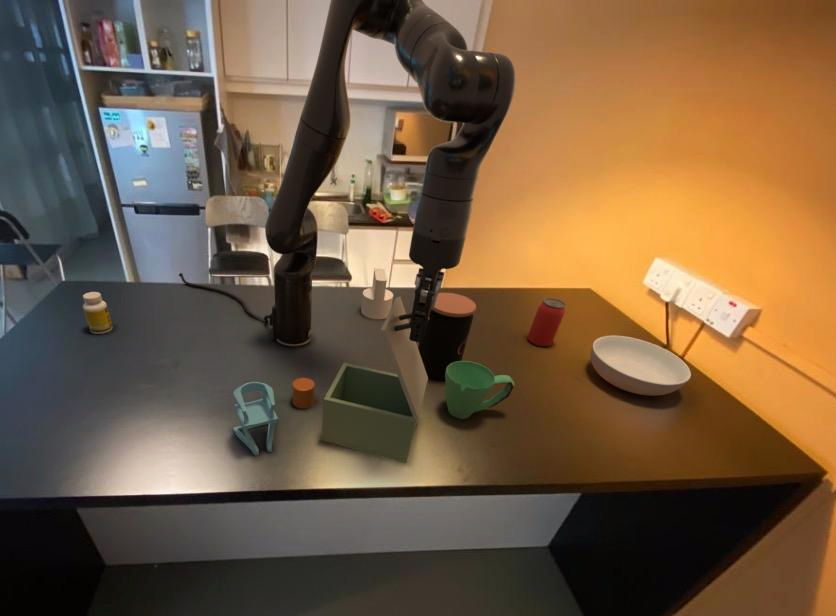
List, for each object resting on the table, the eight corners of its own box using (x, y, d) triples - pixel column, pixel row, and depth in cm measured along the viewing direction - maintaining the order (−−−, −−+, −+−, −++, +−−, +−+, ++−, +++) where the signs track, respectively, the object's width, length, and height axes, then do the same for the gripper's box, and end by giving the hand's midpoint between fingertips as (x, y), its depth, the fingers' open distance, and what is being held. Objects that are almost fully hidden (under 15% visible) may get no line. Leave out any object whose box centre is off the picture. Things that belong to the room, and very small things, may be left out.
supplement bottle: (115, 331, 111) (105, 297, 105) (92, 336, 109) (81, 301, 103) (111, 322, 115) (101, 289, 109) (88, 327, 112) (77, 293, 106)
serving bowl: (586, 393, 100) (598, 369, 96) (578, 350, 116) (588, 328, 112) (686, 417, 95) (704, 392, 91) (663, 368, 111) (677, 346, 107)
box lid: (380, 330, 65) (413, 322, 63) (396, 297, 75) (425, 289, 73) (414, 419, 73) (444, 415, 71) (424, 378, 83) (451, 374, 81)
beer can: (526, 344, 118) (541, 304, 110) (527, 333, 123) (541, 295, 115) (551, 350, 116) (568, 310, 109) (551, 339, 121) (567, 300, 114)
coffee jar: (458, 384, 100) (478, 316, 90) (413, 377, 102) (427, 309, 91) (457, 360, 109) (475, 295, 98) (415, 354, 110) (428, 289, 99)
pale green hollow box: (321, 440, 83) (323, 399, 77) (340, 402, 93) (343, 362, 87) (406, 462, 79) (415, 421, 73) (416, 420, 89) (425, 380, 83)
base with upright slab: (391, 320, 125) (397, 281, 118) (361, 318, 125) (365, 279, 117) (389, 306, 132) (394, 269, 125) (360, 304, 132) (364, 267, 125)
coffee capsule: (289, 405, 91) (289, 387, 88) (297, 393, 94) (297, 375, 91) (309, 410, 90) (310, 392, 87) (316, 398, 93) (317, 380, 90)
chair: (243, 459, 78) (237, 409, 71) (233, 430, 84) (227, 381, 77) (283, 449, 80) (282, 399, 73) (271, 421, 86) (268, 373, 79)
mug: (442, 426, 88) (453, 388, 82) (431, 397, 96) (440, 360, 90) (511, 427, 89) (526, 389, 83) (494, 397, 97) (507, 361, 91)
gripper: (421, 212, 67) (403, 310, 77) (405, 239, 56) (387, 349, 66) (469, 219, 65) (445, 318, 75) (463, 248, 54) (435, 359, 64)
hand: (418, 332), depth 71 cm, fingers closed on box lid, 5 cm apart
